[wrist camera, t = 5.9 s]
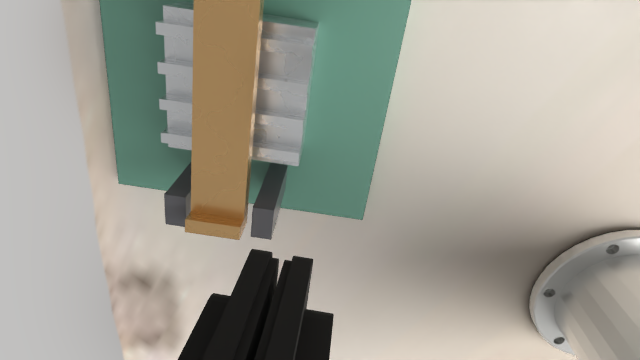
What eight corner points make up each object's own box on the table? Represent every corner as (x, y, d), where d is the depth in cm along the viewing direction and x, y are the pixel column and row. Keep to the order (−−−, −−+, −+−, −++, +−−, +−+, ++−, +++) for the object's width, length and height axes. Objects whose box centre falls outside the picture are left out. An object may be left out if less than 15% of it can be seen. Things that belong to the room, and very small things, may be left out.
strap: (267, -45, 18) (259, -50, 17) (246, 222, 24) (239, 239, 22) (201, -55, 18) (187, -61, 17) (196, 215, 24) (185, 232, 22)
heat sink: (329, -60, 22) (323, -72, 16) (303, 147, 27) (291, 194, 22) (182, -84, 22) (122, -103, 16) (185, 129, 27) (142, 172, 22)
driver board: (422, -62, 22) (451, -74, 16) (362, 212, 31) (366, 274, 24) (97, -113, 22) (0, -146, 16) (125, 177, 30) (68, 230, 24)
